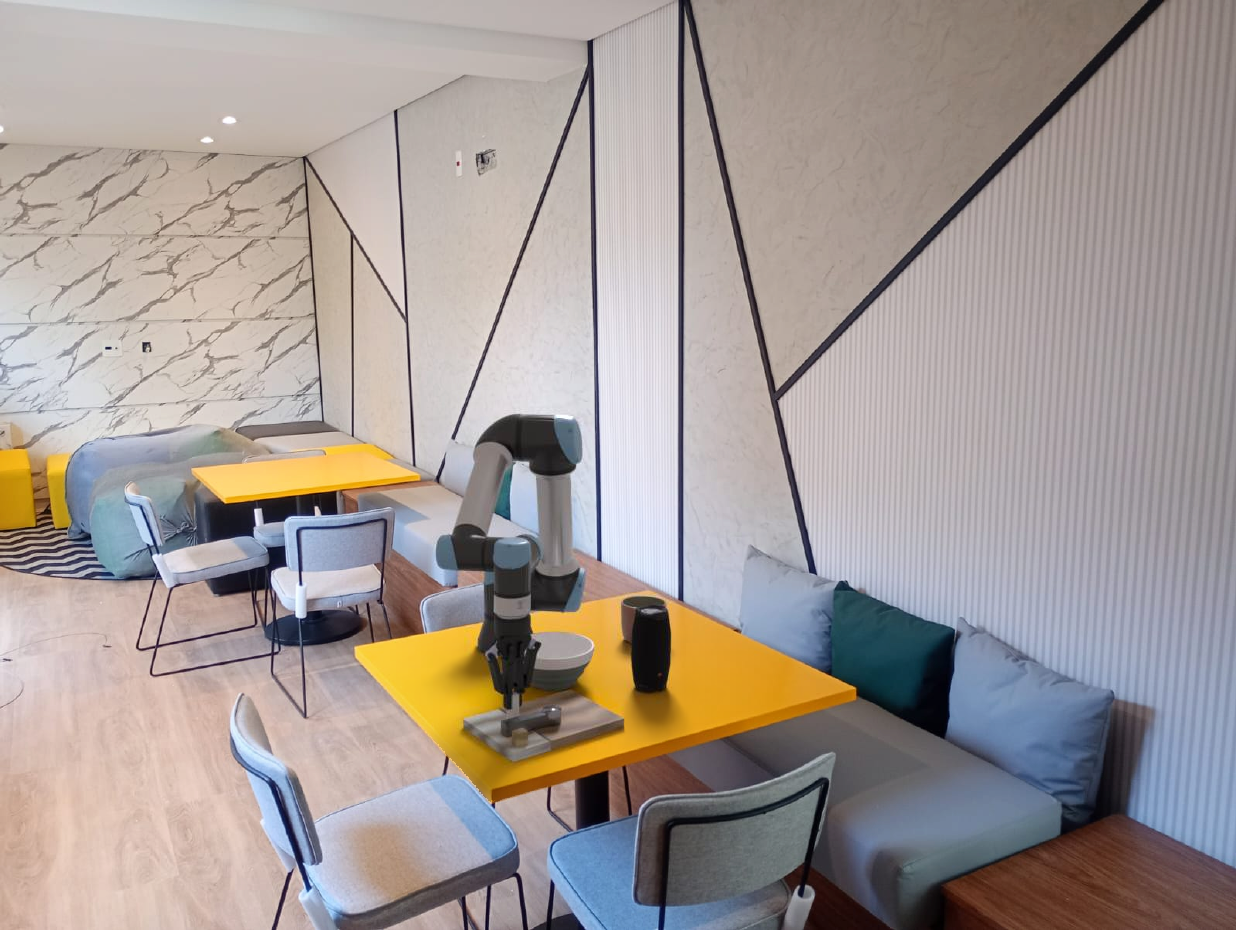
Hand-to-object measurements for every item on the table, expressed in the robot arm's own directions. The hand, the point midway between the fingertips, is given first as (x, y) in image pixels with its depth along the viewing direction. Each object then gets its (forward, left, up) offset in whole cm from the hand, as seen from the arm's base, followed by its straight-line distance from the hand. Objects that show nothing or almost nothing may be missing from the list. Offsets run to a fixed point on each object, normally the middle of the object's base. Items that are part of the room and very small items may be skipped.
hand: (512, 722), depth 202 cm
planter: (-31, +61, -3) cm, 68 cm away
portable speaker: (-4, +41, -3) cm, 41 cm away
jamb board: (0, +8, -3) cm, 8 cm away
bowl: (-20, +24, -3) cm, 31 cm away
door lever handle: (+3, +3, -1) cm, 4 cm away
